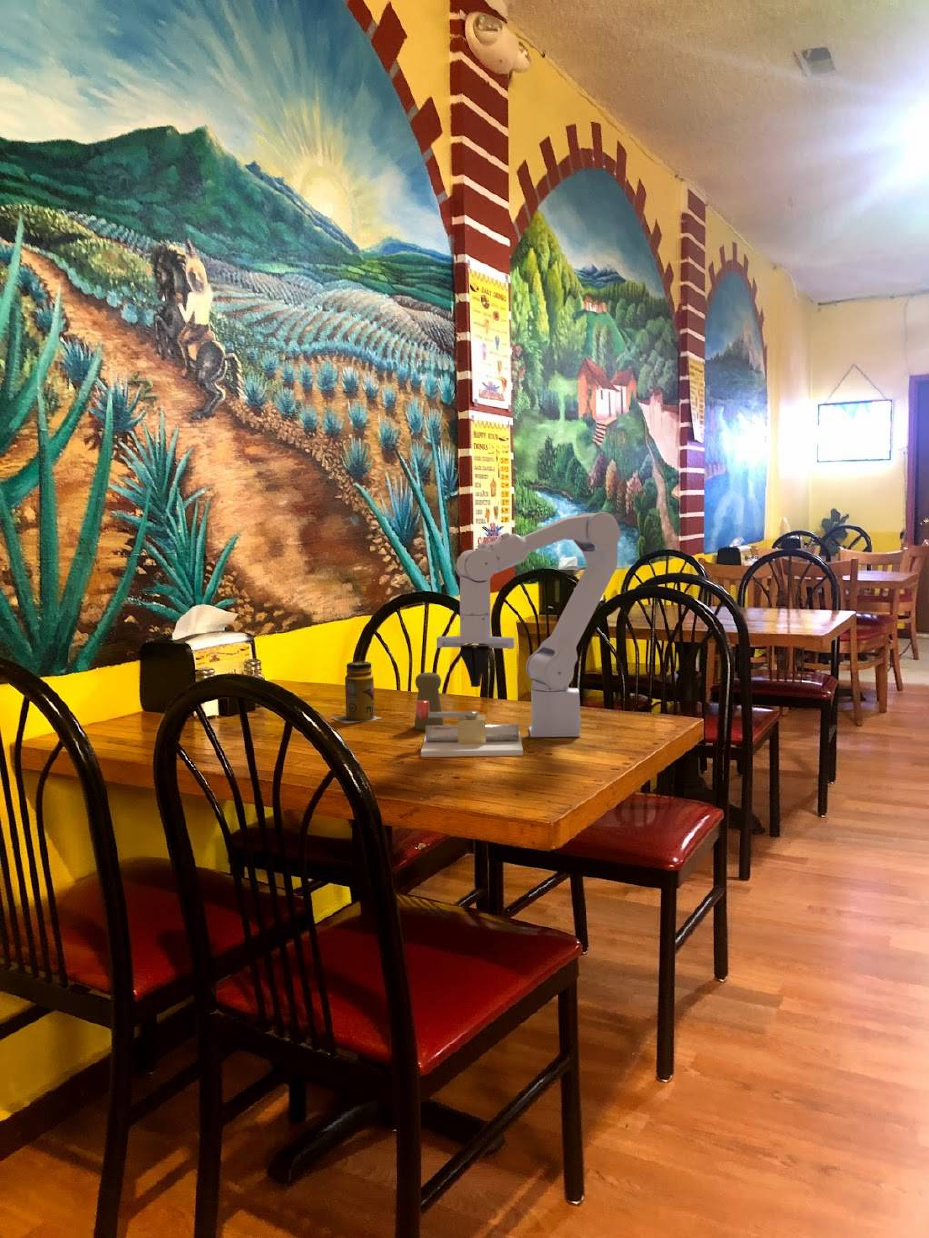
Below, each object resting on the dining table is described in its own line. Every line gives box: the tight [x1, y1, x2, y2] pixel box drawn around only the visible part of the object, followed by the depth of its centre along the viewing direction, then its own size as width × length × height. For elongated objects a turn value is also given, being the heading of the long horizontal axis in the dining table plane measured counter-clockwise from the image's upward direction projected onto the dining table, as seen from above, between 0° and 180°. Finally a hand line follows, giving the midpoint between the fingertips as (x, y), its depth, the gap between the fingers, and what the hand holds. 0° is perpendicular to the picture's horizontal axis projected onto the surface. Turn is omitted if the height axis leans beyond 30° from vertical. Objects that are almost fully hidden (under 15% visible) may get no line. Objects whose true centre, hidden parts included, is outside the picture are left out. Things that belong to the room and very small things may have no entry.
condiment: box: [331, 661, 383, 724], centre depth 205 cm, size 7×8×12 cm
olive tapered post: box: [413, 672, 445, 731], centre depth 196 cm, size 6×6×11 cm
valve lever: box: [415, 700, 479, 719], centre depth 178 cm, size 11×2×3 cm, turn 87°
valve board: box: [420, 731, 524, 758], centre depth 178 cm, size 18×15×1 cm
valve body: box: [425, 714, 520, 744], centre depth 178 cm, size 17×5×4 cm, turn 89°
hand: (475, 686), depth 182 cm, fingers closed
